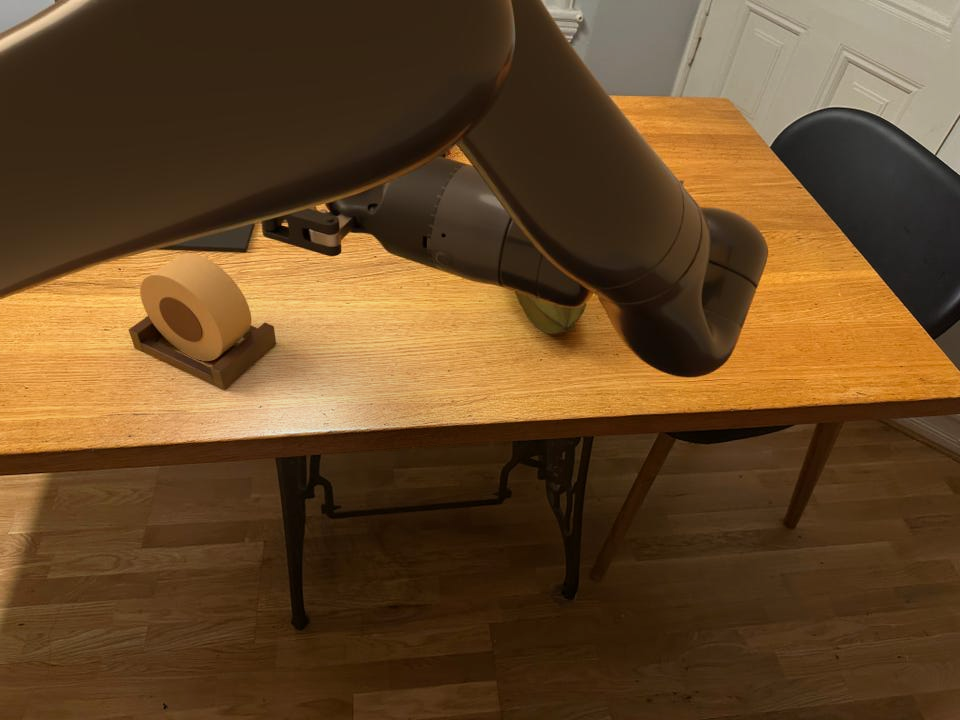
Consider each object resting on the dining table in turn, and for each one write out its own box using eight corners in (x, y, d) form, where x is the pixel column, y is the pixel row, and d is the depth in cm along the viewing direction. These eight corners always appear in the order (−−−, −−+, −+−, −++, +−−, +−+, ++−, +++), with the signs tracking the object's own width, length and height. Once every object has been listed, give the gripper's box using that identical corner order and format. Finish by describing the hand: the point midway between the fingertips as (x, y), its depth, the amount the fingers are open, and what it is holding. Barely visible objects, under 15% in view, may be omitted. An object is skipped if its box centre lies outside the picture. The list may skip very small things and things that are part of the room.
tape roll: (230, 375, 69) (210, 295, 63) (154, 341, 72) (127, 261, 66) (259, 349, 72) (243, 270, 66) (185, 318, 75) (162, 240, 69)
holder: (224, 390, 68) (220, 372, 66) (134, 347, 71) (128, 329, 69) (276, 343, 73) (274, 326, 72) (191, 306, 77) (186, 288, 75)
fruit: (601, 302, 84) (613, 257, 79) (565, 360, 76) (576, 314, 71) (515, 271, 87) (522, 226, 82) (472, 324, 79) (477, 277, 74)
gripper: (506, 130, 51) (319, 81, 55) (409, 219, 41) (192, 150, 45) (497, 220, 56) (327, 168, 60) (409, 318, 46) (214, 247, 50)
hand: (269, 160), depth 53 cm, fingers open, 8 cm apart
